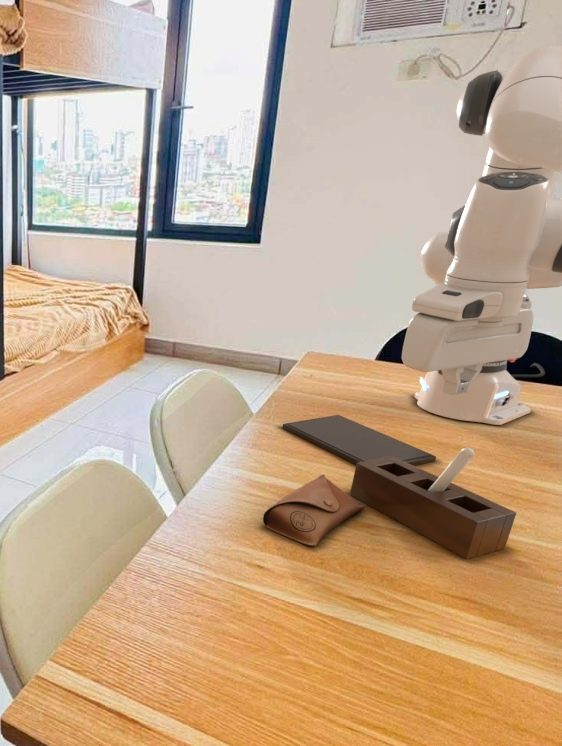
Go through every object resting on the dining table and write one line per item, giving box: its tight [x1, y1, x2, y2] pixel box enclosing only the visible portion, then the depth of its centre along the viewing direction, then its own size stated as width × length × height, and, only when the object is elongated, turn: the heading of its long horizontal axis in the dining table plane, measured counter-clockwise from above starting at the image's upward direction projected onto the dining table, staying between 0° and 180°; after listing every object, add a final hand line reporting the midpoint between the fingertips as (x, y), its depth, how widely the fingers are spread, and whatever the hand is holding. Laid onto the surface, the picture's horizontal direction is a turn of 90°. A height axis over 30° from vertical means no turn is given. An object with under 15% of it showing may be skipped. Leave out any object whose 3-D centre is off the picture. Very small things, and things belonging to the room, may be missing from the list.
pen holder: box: [349, 456, 517, 560], centre depth 97 cm, size 8×19×6 cm, turn 18°
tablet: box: [281, 414, 437, 466], centre depth 124 cm, size 15×22×1 cm
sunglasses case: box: [262, 474, 366, 547], centre depth 98 cm, size 18×7×7 cm
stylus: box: [428, 447, 476, 494], centre depth 94 cm, size 2×2×15 cm
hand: (455, 392), depth 91 cm, fingers closed
